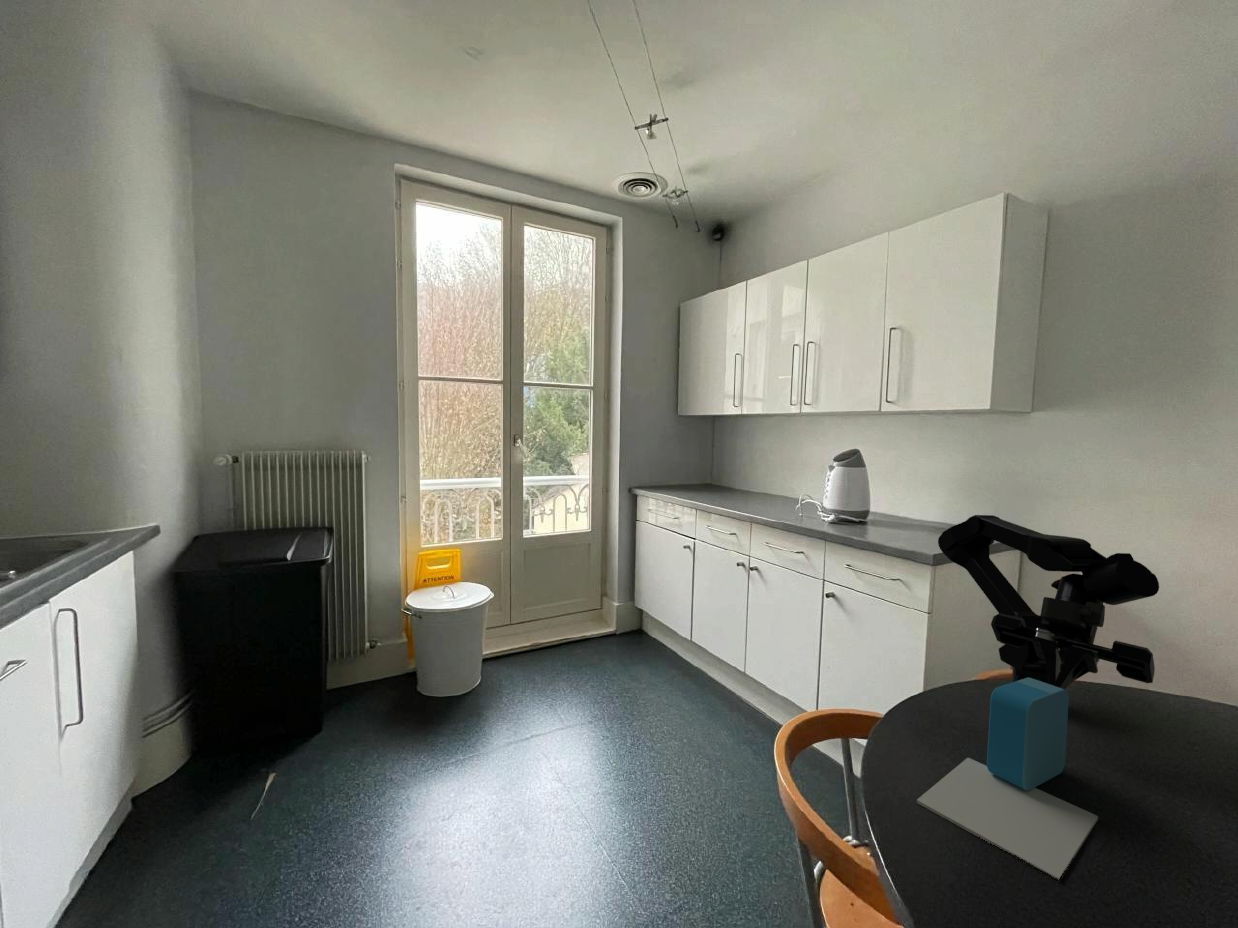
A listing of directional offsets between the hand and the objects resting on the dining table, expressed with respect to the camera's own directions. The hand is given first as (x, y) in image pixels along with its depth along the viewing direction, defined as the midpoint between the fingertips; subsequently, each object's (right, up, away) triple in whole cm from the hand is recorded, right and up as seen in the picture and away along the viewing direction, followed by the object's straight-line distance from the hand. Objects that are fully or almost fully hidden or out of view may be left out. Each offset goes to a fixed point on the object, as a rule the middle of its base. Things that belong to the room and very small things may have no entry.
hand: (1053, 692), depth 75 cm
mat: (-17, -9, -13) cm, 23 cm away
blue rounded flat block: (-9, -9, -6) cm, 14 cm away
